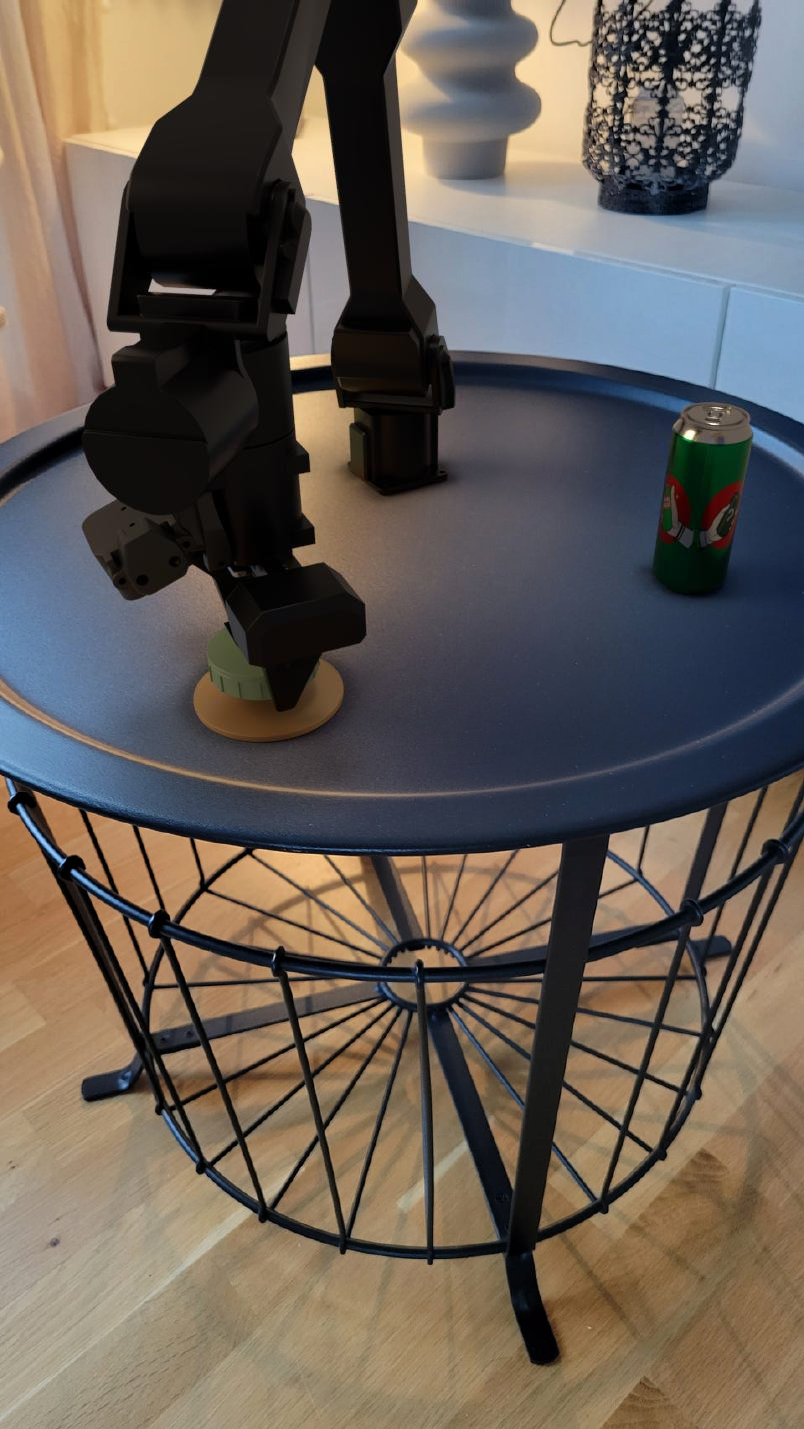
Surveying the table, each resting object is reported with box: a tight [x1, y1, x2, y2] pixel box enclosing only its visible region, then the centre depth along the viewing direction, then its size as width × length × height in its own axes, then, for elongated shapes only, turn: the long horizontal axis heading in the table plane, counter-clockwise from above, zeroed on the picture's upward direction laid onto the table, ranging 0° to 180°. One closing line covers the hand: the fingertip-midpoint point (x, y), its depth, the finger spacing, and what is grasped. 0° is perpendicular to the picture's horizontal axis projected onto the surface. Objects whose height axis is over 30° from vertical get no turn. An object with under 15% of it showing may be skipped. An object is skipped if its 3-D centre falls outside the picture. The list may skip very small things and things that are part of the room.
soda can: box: [651, 401, 754, 595], centre depth 70 cm, size 5×5×12 cm
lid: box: [205, 626, 320, 700], centre depth 62 cm, size 6×6×2 cm
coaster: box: [193, 657, 345, 743], centre depth 64 cm, size 9×9×1 cm
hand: (267, 678), depth 63 cm, fingers closed on lid, 6 cm apart
